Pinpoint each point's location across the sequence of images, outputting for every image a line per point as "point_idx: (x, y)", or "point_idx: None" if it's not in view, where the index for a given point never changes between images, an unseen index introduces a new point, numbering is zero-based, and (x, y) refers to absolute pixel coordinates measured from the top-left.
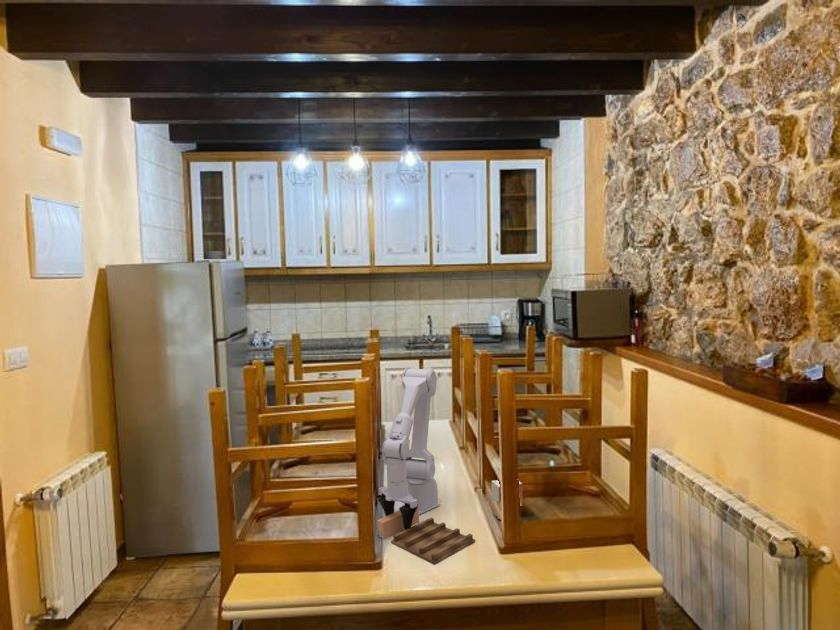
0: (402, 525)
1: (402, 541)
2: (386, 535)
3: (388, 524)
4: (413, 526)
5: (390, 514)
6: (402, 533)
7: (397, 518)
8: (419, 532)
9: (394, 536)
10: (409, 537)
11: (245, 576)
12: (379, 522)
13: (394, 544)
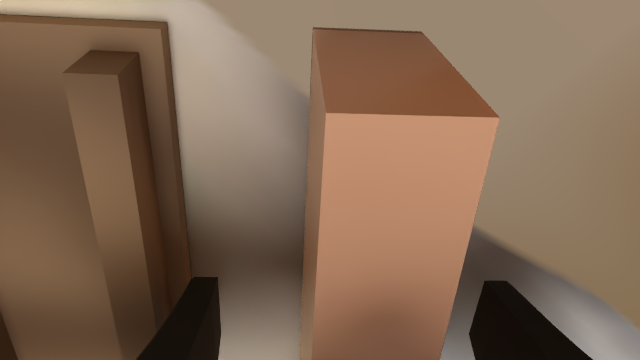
0: (304, 313)
1: (44, 108)
2: (311, 86)
3: (315, 190)
4: None
5: (436, 355)
6: (89, 190)
7: (310, 347)
8: (106, 327)
9: (93, 72)
10: (81, 216)
11: None
12: (425, 106)
13: (98, 20)
